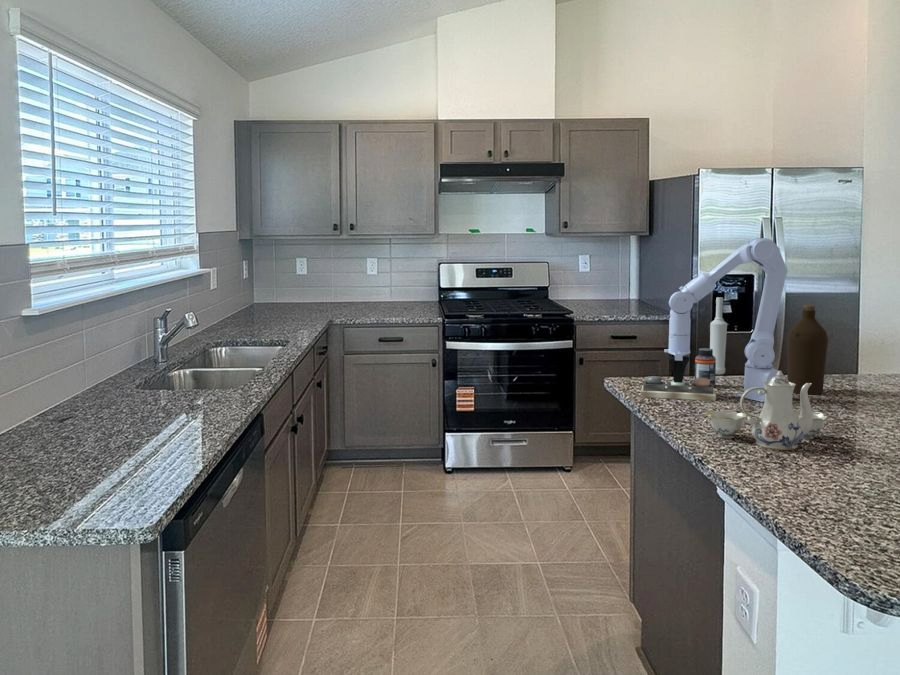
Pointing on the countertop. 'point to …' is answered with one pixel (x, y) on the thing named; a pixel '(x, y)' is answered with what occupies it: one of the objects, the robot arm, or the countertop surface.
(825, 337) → the olive oil
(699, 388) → the panel
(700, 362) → the supplement bottle
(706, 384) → the button terracotta
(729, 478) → the countertop surface
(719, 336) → the bottle
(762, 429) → the chinaware
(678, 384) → the button sage
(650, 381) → the button charcoal
